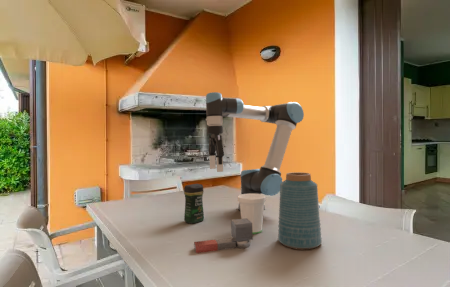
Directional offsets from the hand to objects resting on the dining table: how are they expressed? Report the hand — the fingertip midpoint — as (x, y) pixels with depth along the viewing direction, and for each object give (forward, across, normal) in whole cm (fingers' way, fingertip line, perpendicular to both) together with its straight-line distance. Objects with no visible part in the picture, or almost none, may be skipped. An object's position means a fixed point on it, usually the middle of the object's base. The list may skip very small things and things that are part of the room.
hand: (216, 170), depth 130 cm
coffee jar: (+26, -9, -10) cm, 29 cm away
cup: (+26, +14, +12) cm, 32 cm away
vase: (+26, +33, +24) cm, 49 cm away
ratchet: (+26, +28, -6) cm, 38 cm away
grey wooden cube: (+23, +28, +2) cm, 36 cm away
